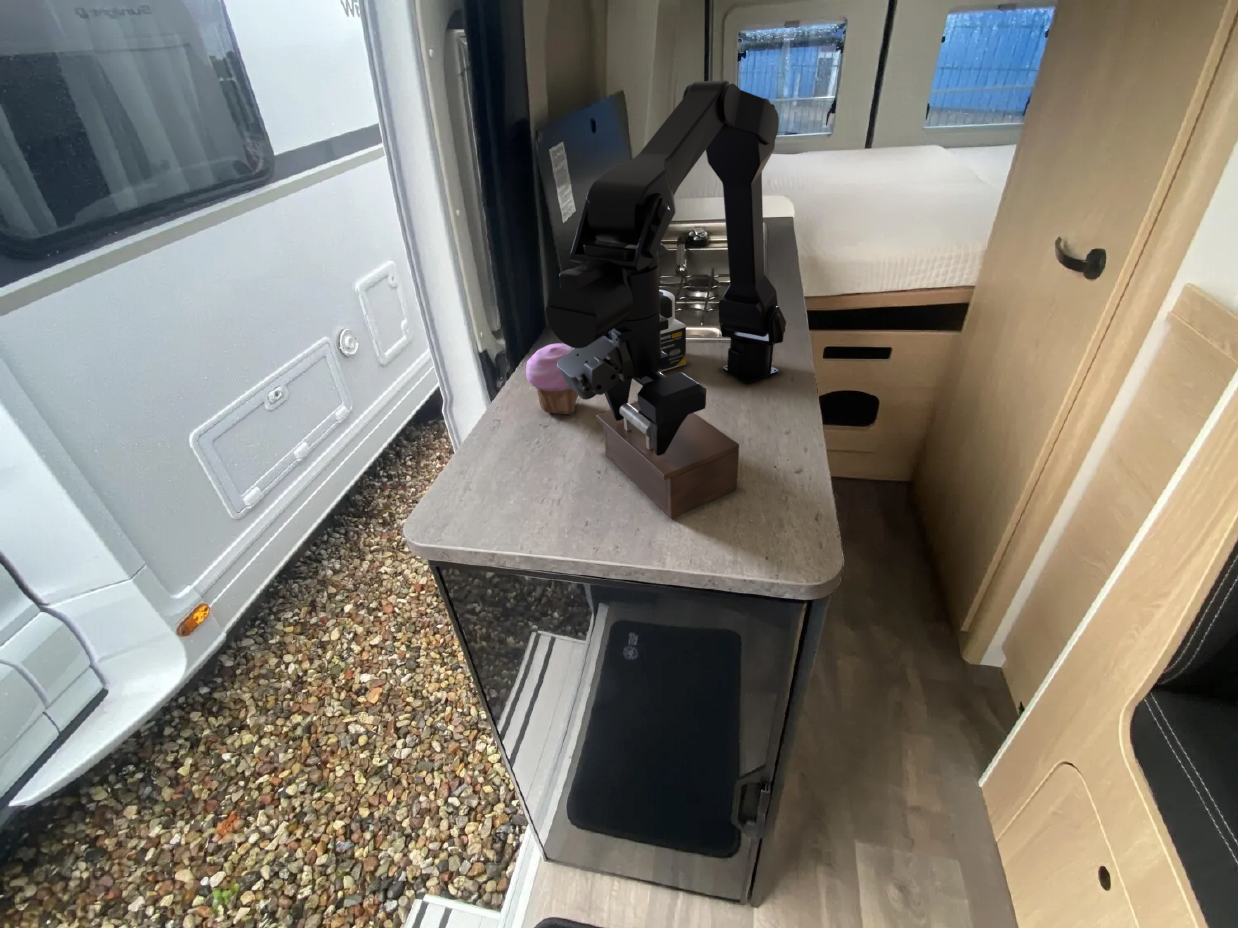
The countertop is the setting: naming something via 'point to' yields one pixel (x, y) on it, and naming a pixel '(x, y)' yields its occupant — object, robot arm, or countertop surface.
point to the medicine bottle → (672, 333)
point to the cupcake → (551, 379)
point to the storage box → (676, 479)
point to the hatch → (684, 452)
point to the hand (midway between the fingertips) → (639, 436)
